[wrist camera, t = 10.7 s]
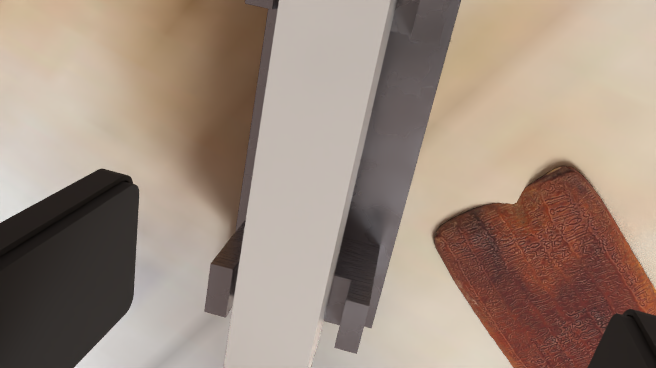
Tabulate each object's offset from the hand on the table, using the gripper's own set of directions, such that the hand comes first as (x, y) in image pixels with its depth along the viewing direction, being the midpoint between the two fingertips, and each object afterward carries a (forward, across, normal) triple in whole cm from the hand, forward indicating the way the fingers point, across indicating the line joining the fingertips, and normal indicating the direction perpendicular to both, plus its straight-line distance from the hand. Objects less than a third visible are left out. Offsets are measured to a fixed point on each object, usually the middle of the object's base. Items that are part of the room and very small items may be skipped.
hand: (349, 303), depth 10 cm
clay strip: (+16, +4, +3) cm, 17 cm away
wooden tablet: (+24, -16, +14) cm, 32 cm away
